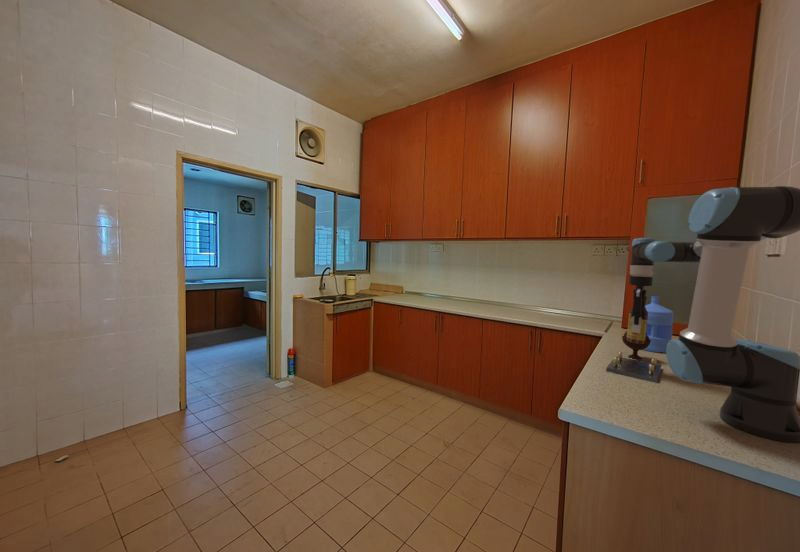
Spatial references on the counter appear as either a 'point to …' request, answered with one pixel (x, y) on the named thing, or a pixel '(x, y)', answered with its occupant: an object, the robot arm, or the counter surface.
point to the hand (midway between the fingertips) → (636, 331)
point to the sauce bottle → (641, 336)
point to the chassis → (635, 368)
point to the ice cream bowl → (636, 346)
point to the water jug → (658, 326)
